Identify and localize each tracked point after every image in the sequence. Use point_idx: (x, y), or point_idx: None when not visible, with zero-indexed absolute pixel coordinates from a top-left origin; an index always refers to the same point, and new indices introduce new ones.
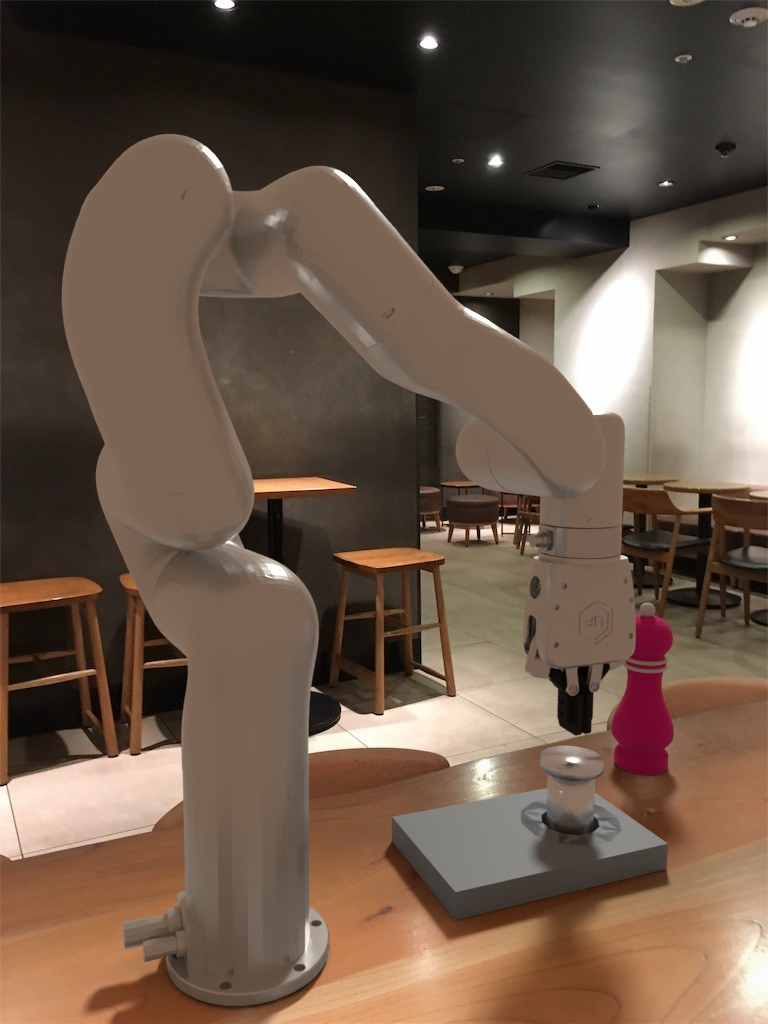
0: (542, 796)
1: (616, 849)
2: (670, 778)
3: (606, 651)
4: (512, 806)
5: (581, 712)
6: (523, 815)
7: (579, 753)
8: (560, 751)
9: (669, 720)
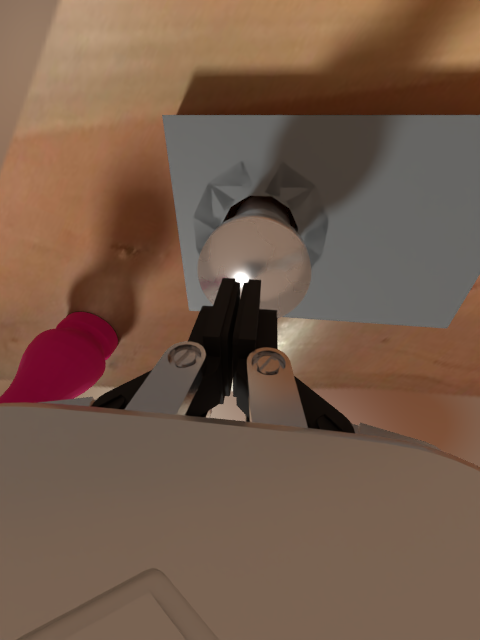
0: None
1: (249, 132)
2: (71, 300)
3: (81, 476)
4: None
5: (247, 307)
6: None
7: None
8: None
9: (26, 351)
